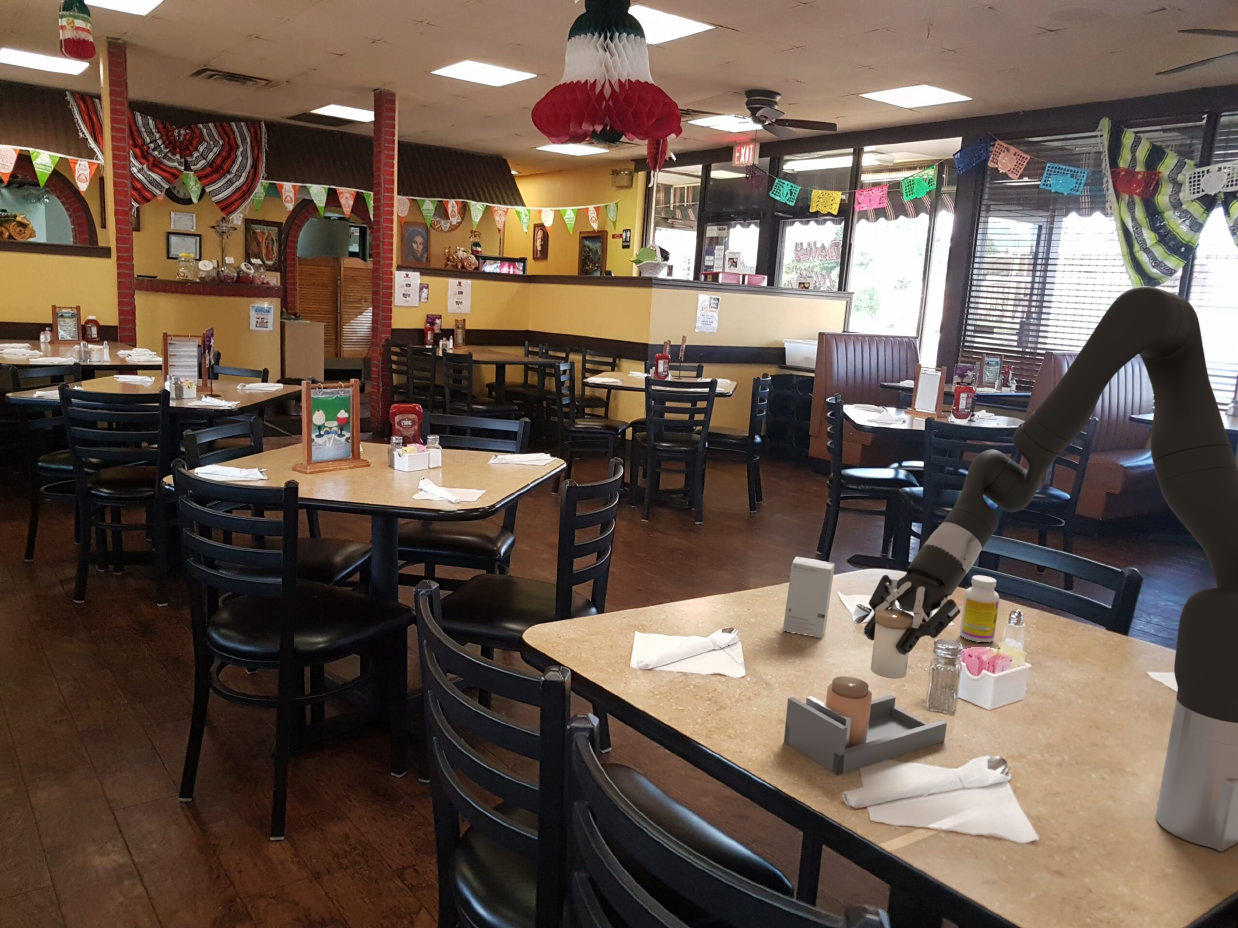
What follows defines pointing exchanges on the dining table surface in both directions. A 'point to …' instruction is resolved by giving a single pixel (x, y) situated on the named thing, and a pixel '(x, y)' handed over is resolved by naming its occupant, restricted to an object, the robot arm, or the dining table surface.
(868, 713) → the terracotta jar
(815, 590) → the skincare box
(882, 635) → the cream jar
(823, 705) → the plate
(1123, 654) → the dining table surface
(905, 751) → the pusher lane
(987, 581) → the supplement bottle
